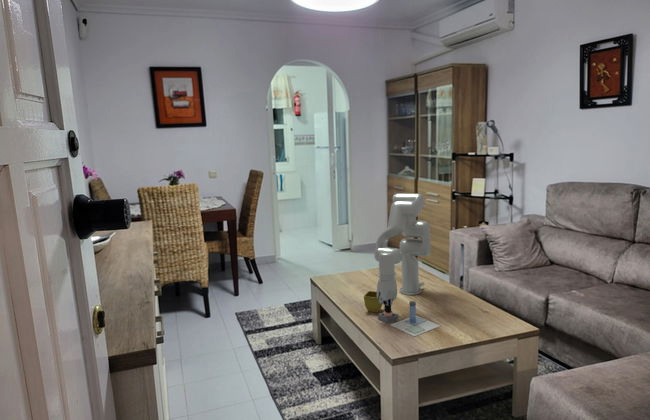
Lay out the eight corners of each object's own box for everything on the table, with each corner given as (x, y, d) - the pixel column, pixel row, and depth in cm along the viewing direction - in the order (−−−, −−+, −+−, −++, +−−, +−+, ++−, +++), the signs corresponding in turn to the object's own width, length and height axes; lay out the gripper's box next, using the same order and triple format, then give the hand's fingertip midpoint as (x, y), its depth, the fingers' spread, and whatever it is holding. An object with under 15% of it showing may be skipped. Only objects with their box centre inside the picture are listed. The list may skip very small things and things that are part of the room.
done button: (388, 314, 221) (388, 309, 221) (394, 317, 218) (394, 312, 217) (381, 316, 219) (381, 311, 219) (387, 319, 215) (387, 314, 215)
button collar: (388, 315, 223) (388, 310, 223) (398, 319, 218) (398, 314, 217) (378, 318, 220) (378, 314, 219) (387, 323, 214) (387, 318, 213)
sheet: (415, 316, 221) (415, 315, 221) (440, 326, 208) (440, 325, 207) (390, 325, 212) (390, 324, 211) (414, 336, 198) (414, 335, 198)
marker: (413, 320, 215) (412, 300, 213) (417, 322, 212) (417, 302, 211) (408, 321, 213) (408, 302, 212) (412, 323, 211) (412, 303, 209)
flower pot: (385, 308, 233) (384, 292, 231) (379, 314, 225) (379, 298, 223) (369, 306, 236) (368, 290, 235) (363, 312, 228) (363, 296, 227)
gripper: (393, 271, 222) (394, 306, 225) (370, 278, 214) (371, 313, 217) (403, 275, 216) (404, 310, 219) (380, 281, 208) (381, 318, 211)
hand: (387, 312), depth 218 cm, fingers closed
